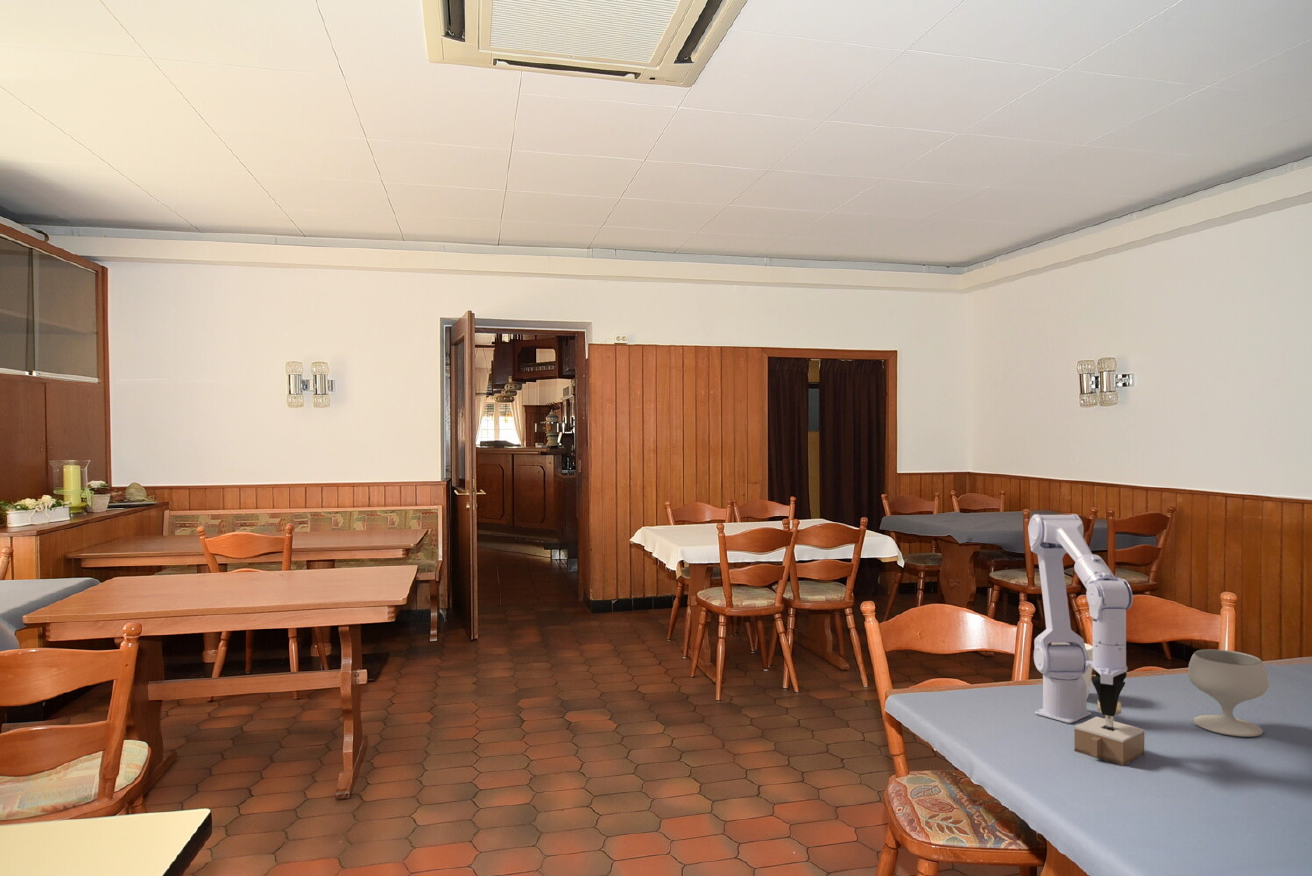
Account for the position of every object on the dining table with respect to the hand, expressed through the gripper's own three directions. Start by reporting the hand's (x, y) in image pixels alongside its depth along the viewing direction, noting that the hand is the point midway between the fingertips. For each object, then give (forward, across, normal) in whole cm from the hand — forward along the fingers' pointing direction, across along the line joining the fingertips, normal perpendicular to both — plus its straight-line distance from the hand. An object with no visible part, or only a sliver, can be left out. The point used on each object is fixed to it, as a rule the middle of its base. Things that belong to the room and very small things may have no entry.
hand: (1109, 711), depth 160 cm
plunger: (+5, 0, 0) cm, 5 cm away
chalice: (+8, -28, +20) cm, 35 cm away
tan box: (+8, 0, 0) cm, 8 cm away
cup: (+8, -34, -10) cm, 36 cm away
